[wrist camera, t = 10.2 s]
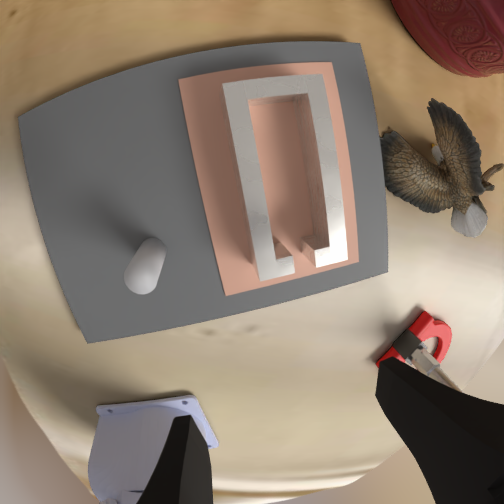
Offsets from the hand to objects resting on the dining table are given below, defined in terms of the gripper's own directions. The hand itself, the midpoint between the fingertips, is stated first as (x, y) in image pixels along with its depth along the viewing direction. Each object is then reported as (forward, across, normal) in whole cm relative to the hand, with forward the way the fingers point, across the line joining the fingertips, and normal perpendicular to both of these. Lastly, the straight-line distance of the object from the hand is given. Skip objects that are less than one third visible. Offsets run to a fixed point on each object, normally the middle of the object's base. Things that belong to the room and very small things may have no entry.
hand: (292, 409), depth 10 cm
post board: (+10, +1, -7) cm, 13 cm away
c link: (+9, -3, -7) cm, 12 cm away
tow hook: (+11, -15, +12) cm, 22 cm away
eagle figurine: (+11, -15, -6) cm, 19 cm away
